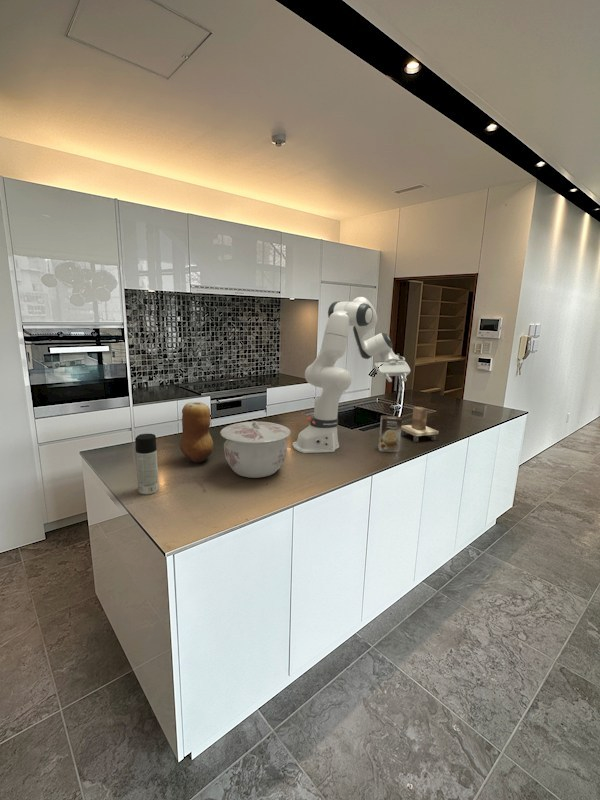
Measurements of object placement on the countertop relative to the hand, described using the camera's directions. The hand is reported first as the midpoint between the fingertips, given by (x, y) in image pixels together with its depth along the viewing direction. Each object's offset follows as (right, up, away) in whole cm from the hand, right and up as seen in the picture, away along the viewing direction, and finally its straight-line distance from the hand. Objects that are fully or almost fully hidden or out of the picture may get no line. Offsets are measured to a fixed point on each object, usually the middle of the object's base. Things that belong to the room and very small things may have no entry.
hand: (397, 381), depth 212 cm
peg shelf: (+8, -30, -9) cm, 33 cm away
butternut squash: (-97, -36, -49) cm, 115 cm away
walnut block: (+8, -25, -10) cm, 28 cm away
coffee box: (-12, -34, -29) cm, 46 cm away
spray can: (-107, -42, -77) cm, 138 cm away
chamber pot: (-71, -39, -58) cm, 100 cm away
